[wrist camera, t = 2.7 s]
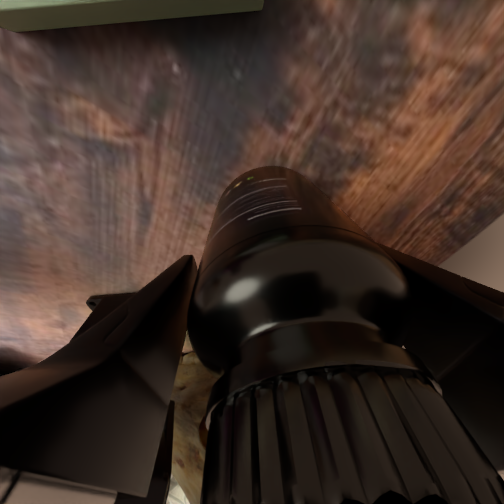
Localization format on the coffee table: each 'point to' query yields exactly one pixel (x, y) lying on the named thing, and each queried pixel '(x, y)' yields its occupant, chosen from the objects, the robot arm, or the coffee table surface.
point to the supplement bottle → (317, 362)
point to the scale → (109, 11)
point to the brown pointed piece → (190, 425)
